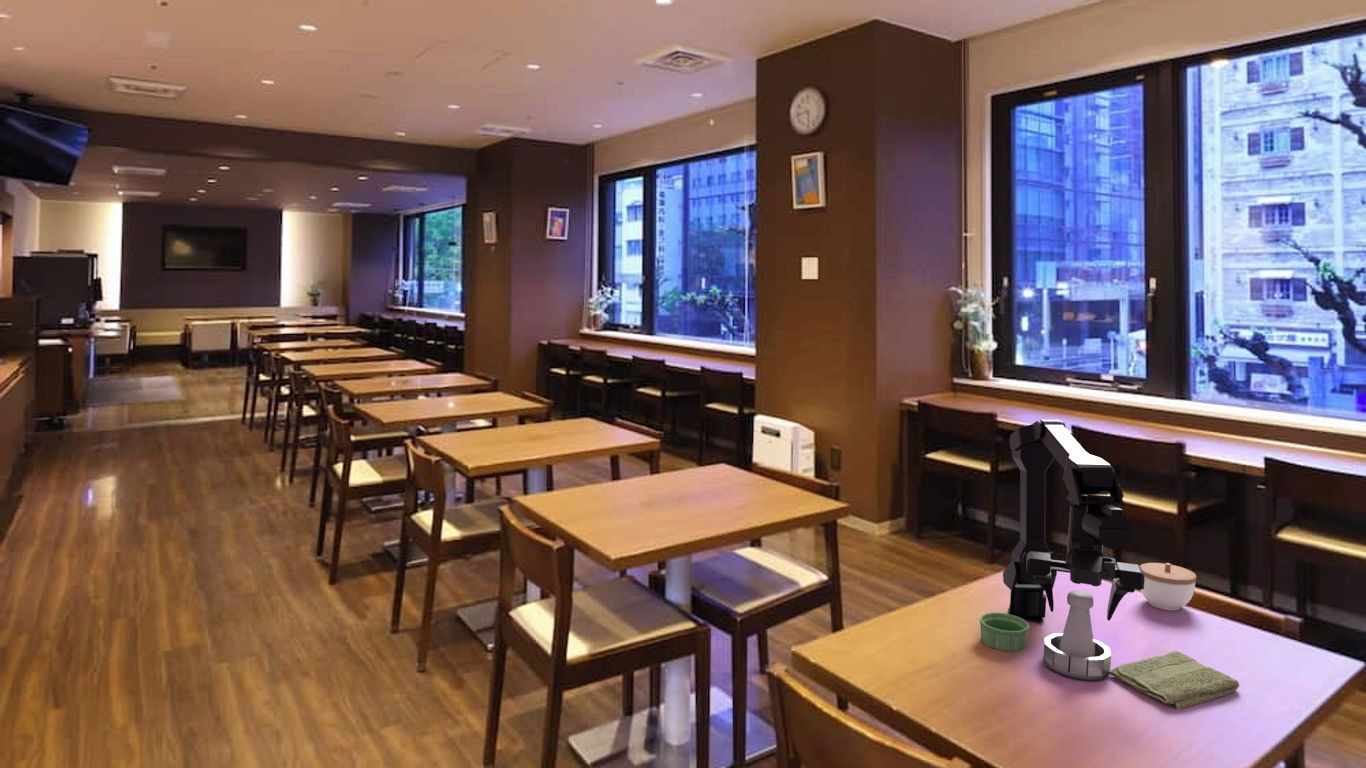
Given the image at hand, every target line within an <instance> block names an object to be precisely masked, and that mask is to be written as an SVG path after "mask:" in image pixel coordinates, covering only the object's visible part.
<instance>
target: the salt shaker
mask: <svg viewBox="0 0 1366 768" xmlns="http://www.w3.org/2000/svg"><path fill="white" fill-rule="evenodd" d="M1066 602H1067V604H1068V605H1069V606H1070V607H1069V611H1068V615H1067V617H1066V621H1065V625H1064V628H1063V632H1062V633H1063V635H1062V638H1061V642H1060V651H1062V652H1065V653H1067V654H1070V655H1075V656H1080V657H1094V655H1095V648H1094V641H1093V639H1094V634H1093V627H1092V619H1091V614H1090V609H1092V608H1093V606H1094V596H1092V594H1091V593H1089V592H1086V591H1083V590H1070V592H1068V593H1067V596H1066Z"/></svg>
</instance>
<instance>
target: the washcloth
mask: <svg viewBox="0 0 1366 768" xmlns="http://www.w3.org/2000/svg"><path fill="white" fill-rule="evenodd" d="M1109 674H1110V675H1109V676H1112V677H1113V679H1117V680H1118V681H1121V682H1123V683H1124V684H1126V685H1128V686H1130V687H1133V688H1134V689H1135V690H1136V691H1139V692H1141V693H1142V694H1146V695H1148V696H1149V697H1152V698H1155V699H1157V700H1159V701H1161V702H1162V703H1163V704H1167V703H1168V704H1167V705H1169V706H1171V707H1172V708H1175V709H1176V710H1181V709H1182V710H1183V709H1184V708H1185V709H1186V708H1188V707H1191V706H1195V705H1198V704H1202V703H1205V702H1208V701H1212V700H1215V699H1218V698H1222V697H1225V696H1229V695H1230V694H1234V693H1235V692H1236V691H1237V690H1238V688H1240V686H1241V685H1240V683H1239V681H1238V680H1237V679H1235V678H1233V677H1231V676H1230V675H1228V674H1225V673H1224V672H1221V671H1219V670H1216V669H1214V668H1212V667H1210V666H1209V667H1207V666H1205V665H1203V664H1202V663H1200V662H1198V661H1197V660H1196V659H1194V658H1192V657H1191V656H1189V655H1187V654H1185V653H1183V652H1181V651H1178V650H1174V651H1173V650H1172V651H1170V652H1168V653H1166V654H1163V655H1155V656H1152V657H1151V656H1150V657H1148V658H1145V659H1141V660H1138V661H1132V662H1126V663H1121V664H1119V665H1118V666H1116V667H1114V668H1112V669H1110V672H1109Z"/></svg>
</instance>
